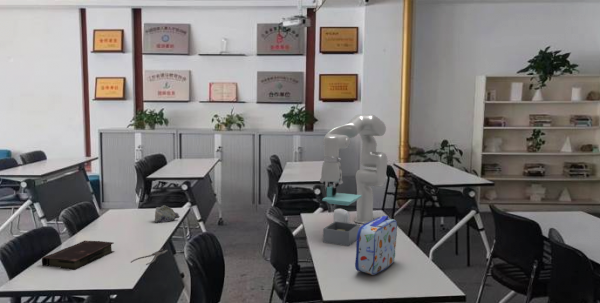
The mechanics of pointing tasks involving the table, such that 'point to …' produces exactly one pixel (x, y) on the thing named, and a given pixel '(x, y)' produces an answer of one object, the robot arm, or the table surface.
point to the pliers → (152, 255)
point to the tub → (340, 233)
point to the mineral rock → (165, 214)
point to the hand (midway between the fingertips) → (331, 194)
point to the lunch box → (376, 245)
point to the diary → (78, 255)
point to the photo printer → (341, 216)
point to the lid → (340, 197)
